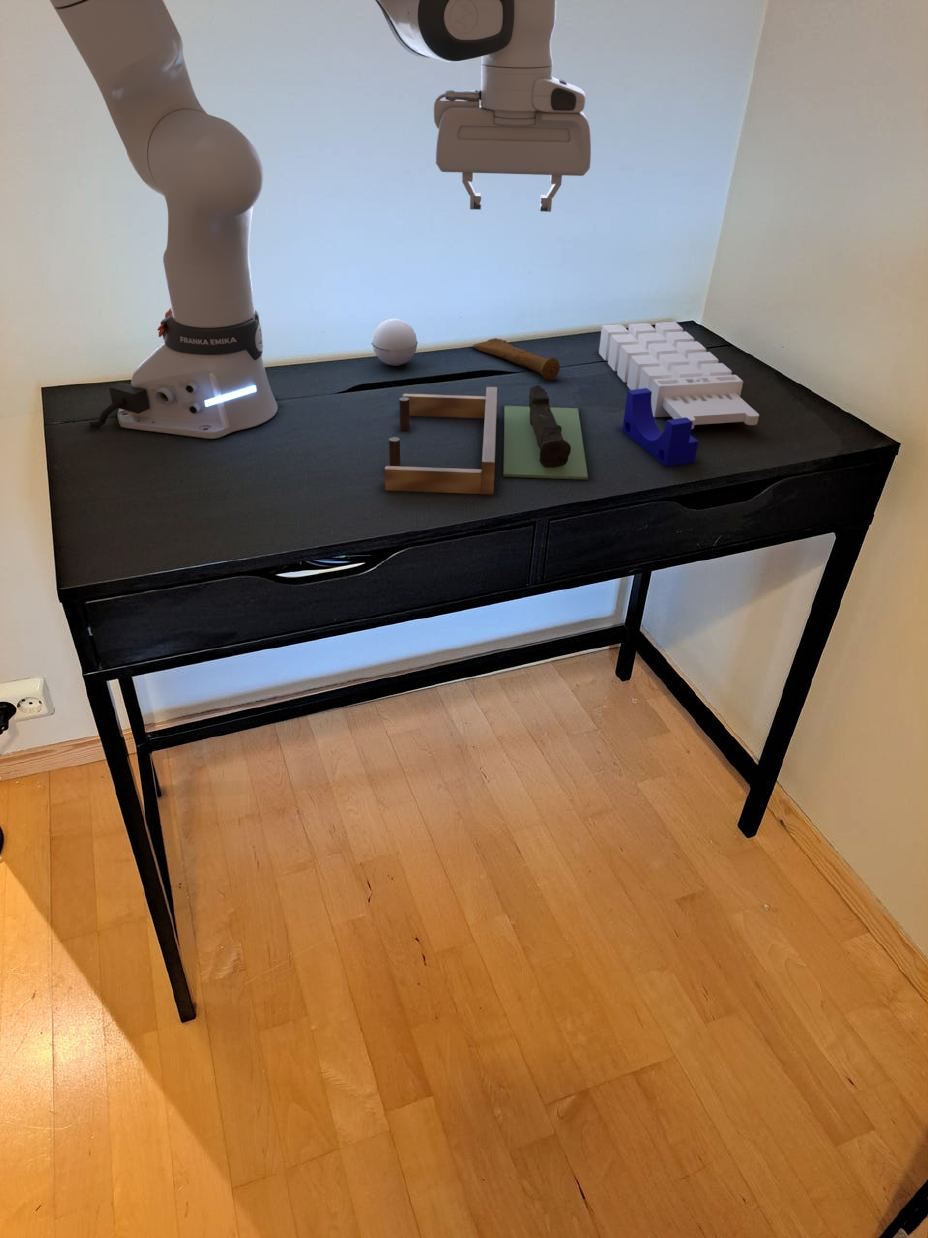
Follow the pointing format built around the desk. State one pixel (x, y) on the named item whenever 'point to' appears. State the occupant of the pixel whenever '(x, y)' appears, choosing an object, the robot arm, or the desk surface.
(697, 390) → the organizer
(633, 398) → the cable clip
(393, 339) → the white seamed ball
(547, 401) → the hand tool
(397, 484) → the tool rack
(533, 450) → the mat
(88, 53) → the robot arm
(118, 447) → the desk surface
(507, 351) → the primitive tool
